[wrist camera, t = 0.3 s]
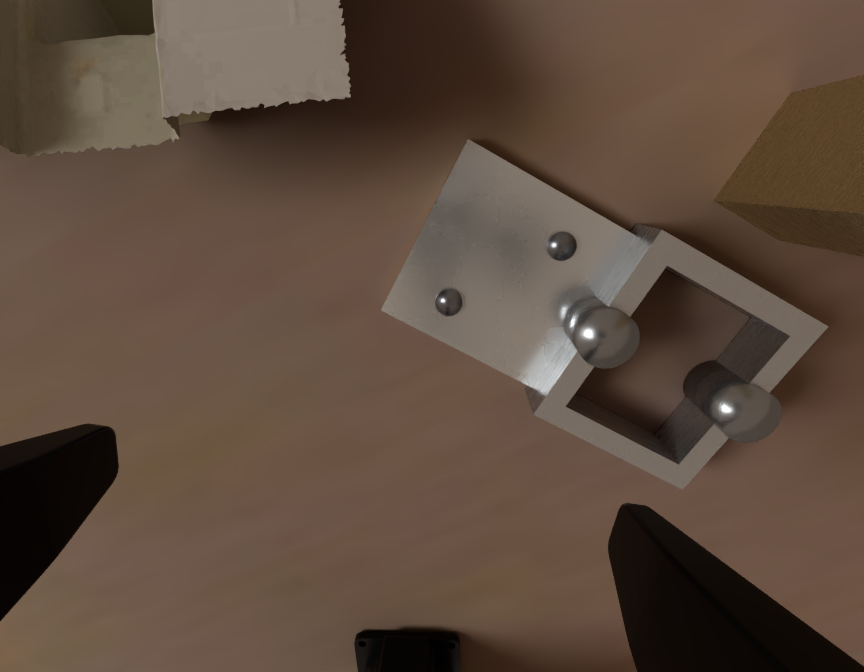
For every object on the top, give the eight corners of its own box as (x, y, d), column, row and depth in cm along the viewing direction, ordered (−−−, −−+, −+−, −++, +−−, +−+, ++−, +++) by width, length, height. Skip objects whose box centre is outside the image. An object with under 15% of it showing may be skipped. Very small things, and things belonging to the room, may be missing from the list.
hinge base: (796, 316, 20) (857, 340, 17) (670, 463, 23) (702, 506, 20) (473, 128, 18) (476, 118, 15) (378, 314, 21) (366, 337, 18)
